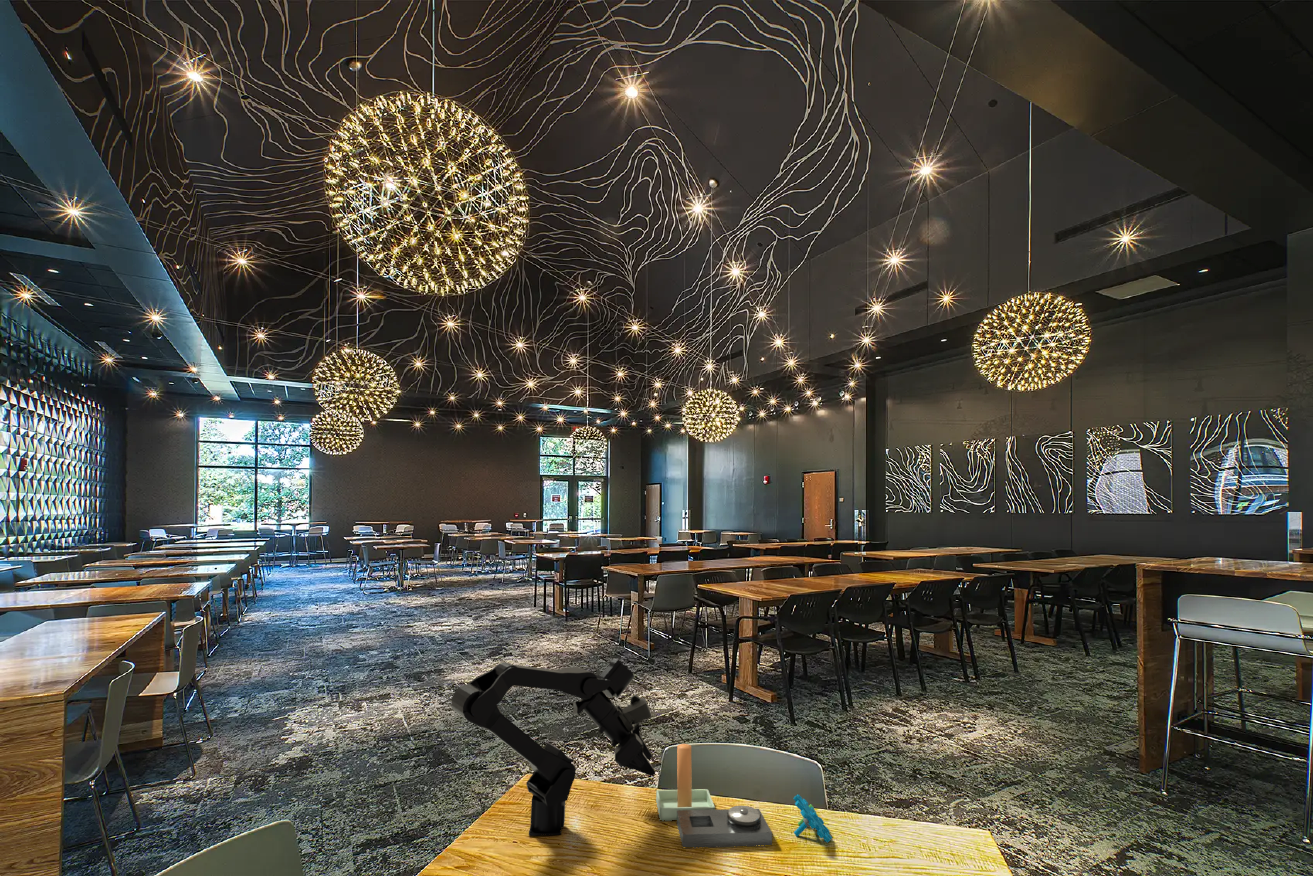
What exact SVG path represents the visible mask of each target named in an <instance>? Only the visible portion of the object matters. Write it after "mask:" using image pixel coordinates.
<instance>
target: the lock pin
mask: <svg viewBox="0 0 1313 876" xmlns="http://www.w3.org/2000/svg"><path fill="white" fill-rule="evenodd" d="M676 750H677V753H676V755H677V756H676V757H677V758H676V760H677V761H676V762H677V764H676V765H677V766H676V769H677V771H676V773H677V774H676V775H677V776H676V779H677V785H676V786H677V788H676V790H677V807H692V789H693V788H692V787H693V785H692V784H693V783H692V780H693V779H692V777H693V775H692V767H693V766H692V745H691V744H688V743H681V744H680V743H679V744H678V745H677V747H676Z"/></svg>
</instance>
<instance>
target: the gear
mask: <svg viewBox="0 0 1313 876" xmlns="http://www.w3.org/2000/svg"><path fill="white" fill-rule="evenodd" d="M793 800H794V805H795V806H796V808H797V809H799V810H800V811H799V813H800V816H802V817H803V818H801V819H800V820H799V821H798V823H797V825H798V827H797V828H796V830H795V829H794V831H793V834H794V835H795V836H796V837H799V836H800V835H802V833H803V832H804V831H805V830H806V829H807V828H811V830H814V829H815V830H816V834H817V835H818V836H819V838H820V839H823V840H824V842H826V843H827V844H828V843H829V842H830V841H831V840H832V839H833V837H832V835H831V834H830V829H828V827H827V826H826V825H825V822H824V820H823V819H822V817H820V816H818V814H817V811H816V810H815V807H814V805H812V804H811V803H810V804H809V802H808V801H807V800H806V799H805V798H803V797H802V796H801V795H800V794H799V793H798V794H796V795H794V797H793Z"/></svg>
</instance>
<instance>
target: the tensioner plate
mask: <svg viewBox="0 0 1313 876" xmlns="http://www.w3.org/2000/svg"><path fill="white" fill-rule="evenodd" d="M676 825H677V826H678V827H677V831H678V830H679V831H678V834H680V835H679V839H680V838H681V839H680V842H682V843H681V847H682V846H683V847H694V848H693V849H697V848H696V847H698V849H700V848H699V847H702V848H703V847H708V848H738V847H737V846H747V847H762V846H761V845H764V846H763V847H766V846H765V845H772V846H773V831H772V829H771V828H770V826H769V825H768V822H767V820H766V819H765V817H764V815H763V814H762V811H761V810H760V808H754V807H753V806H748V805H734V806H731V807H730V808H728V809H725V808H724V809H715V810H677V821H676ZM756 845H757V846H756ZM758 845H760V846H758ZM734 846H736V847H734ZM683 847H682V848H683Z"/></svg>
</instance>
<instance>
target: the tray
mask: <svg viewBox="0 0 1313 876" xmlns="http://www.w3.org/2000/svg"><path fill="white" fill-rule="evenodd" d="M655 792H656V794H655V801H656V802H655V804H656V803H657V804H656V808H658V809H657V813H659V814H658V818H660V819H659V821H660V820H662V821H661V822H673V821H672V820H677V810H716V807H715V804H714V801H713V798H712V796H711V794H710V791H709V789H707V788H703V789H702V788H701V789H697V788H696V789H693V788H692V807H677V789H656V791H655ZM664 820H665V821H664Z"/></svg>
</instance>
